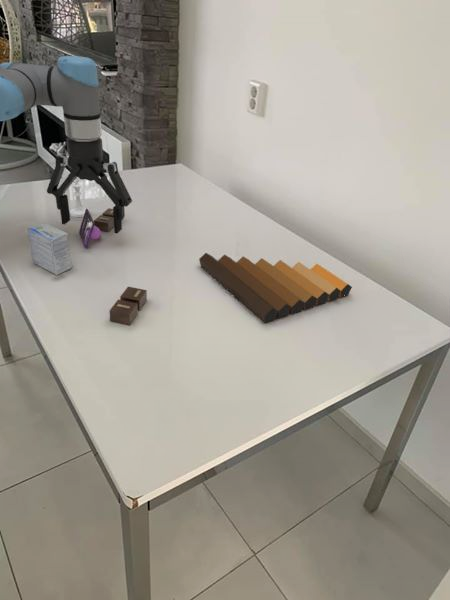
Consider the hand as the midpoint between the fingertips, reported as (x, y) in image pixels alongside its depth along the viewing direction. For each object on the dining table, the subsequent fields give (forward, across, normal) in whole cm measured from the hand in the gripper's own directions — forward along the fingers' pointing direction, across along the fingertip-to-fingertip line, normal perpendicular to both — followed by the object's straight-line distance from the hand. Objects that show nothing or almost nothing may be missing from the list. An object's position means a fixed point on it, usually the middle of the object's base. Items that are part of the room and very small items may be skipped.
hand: (92, 226), depth 110 cm
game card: (+4, 0, 0) cm, 4 cm away
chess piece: (+4, +10, -13) cm, 17 cm away
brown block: (+4, 0, -10) cm, 11 cm away
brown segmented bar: (+4, -20, +25) cm, 32 cm away
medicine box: (+4, +2, +15) cm, 16 cm away
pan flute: (+4, -46, +3) cm, 46 cm away
